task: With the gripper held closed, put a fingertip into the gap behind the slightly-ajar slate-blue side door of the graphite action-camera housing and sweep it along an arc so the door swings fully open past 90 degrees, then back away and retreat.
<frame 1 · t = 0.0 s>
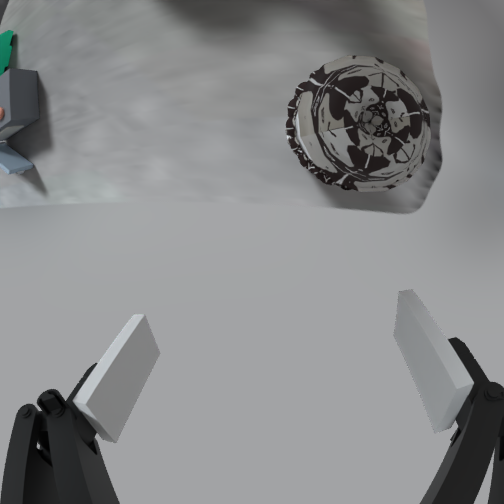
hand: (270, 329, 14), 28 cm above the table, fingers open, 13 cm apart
camera mount: (2, 60, 32), on the table
housing: (19, 106, 36), on the table
decorative candle: (317, 132, 36), on the table
side door: (5, 157, 37), point 4 cm above the table, hinge at 40.0°
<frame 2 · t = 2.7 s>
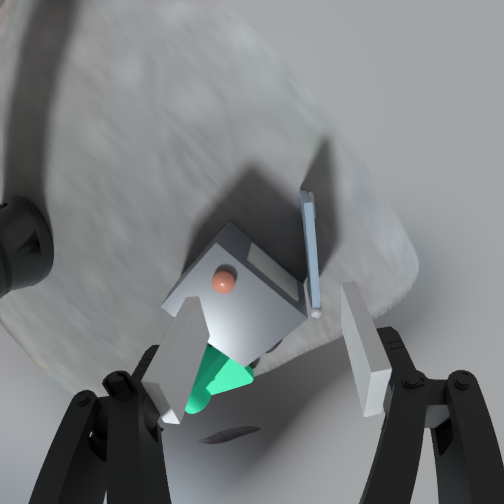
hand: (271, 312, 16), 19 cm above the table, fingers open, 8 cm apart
camera mount: (211, 364, 43), on the table
housing: (240, 280, 37), on the table
side door: (311, 251, 31), point 3 cm above the table, hinge at 40.0°
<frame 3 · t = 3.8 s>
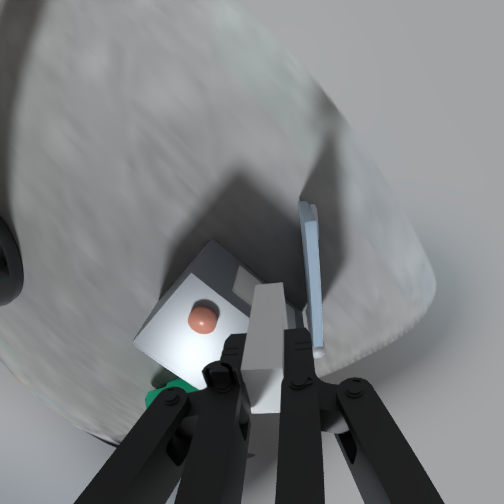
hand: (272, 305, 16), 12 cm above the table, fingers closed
camera mount: (198, 393, 37), on the table
housing: (227, 307, 30), on the table
side door: (313, 278, 25), point 3 cm above the table, hinge at 40.0°
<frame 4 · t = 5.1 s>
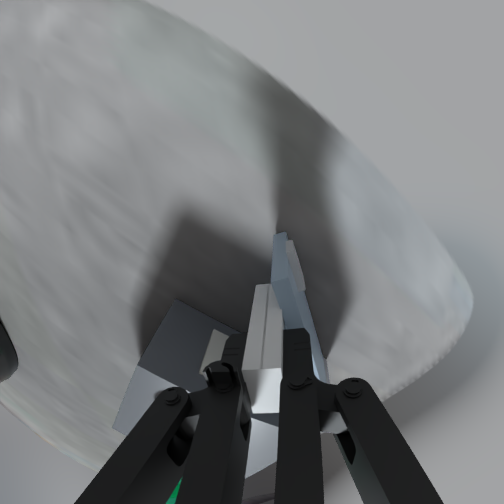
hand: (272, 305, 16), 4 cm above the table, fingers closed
housing: (217, 370, 24), on the table
side door: (308, 336, 18), point 4 cm above the table, hinge at 41.6°, touching gripper
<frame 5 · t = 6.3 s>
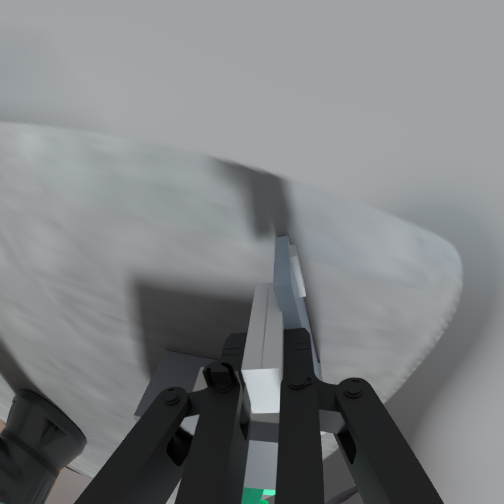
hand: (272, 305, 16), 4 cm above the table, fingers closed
camera mount: (269, 463, 31), on the table
housing: (230, 398, 25), on the table
side door: (305, 342, 18), point 4 cm above the table, hinge at 68.1°, touching gripper
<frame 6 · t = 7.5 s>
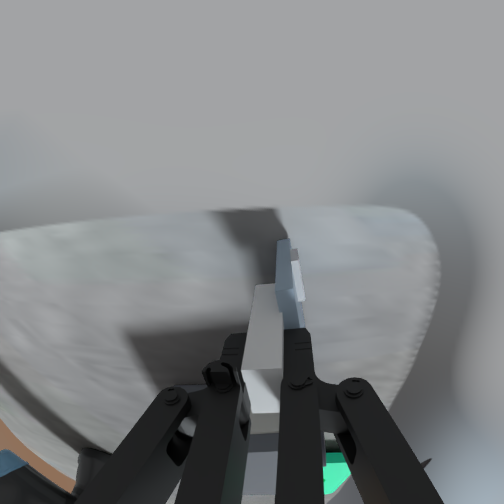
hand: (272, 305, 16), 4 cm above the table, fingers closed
camera mount: (316, 464, 30), on the table
housing: (247, 414, 26), on the table
side door: (301, 345, 18), point 3 cm above the table, hinge at 90.8°, touching gripper
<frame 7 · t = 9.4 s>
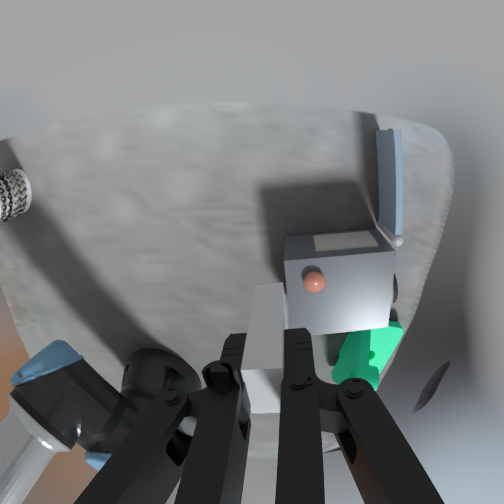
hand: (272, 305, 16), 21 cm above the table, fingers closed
camera mount: (365, 344, 43), on the table
housing: (333, 267, 38), on the table
decorative candle: (19, 190, 39), on the table
side door: (390, 183, 29), point 3 cm above the table, hinge at 90.9°
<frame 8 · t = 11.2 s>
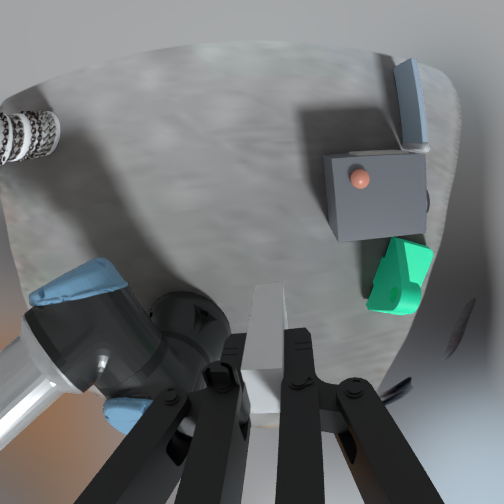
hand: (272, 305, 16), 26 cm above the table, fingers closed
camera mount: (396, 273, 43), on the table
housing: (366, 186, 38), on the table
decorative candle: (46, 133, 39), on the table
side door: (411, 105, 30), point 3 cm above the table, hinge at 90.9°
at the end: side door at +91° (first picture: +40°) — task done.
